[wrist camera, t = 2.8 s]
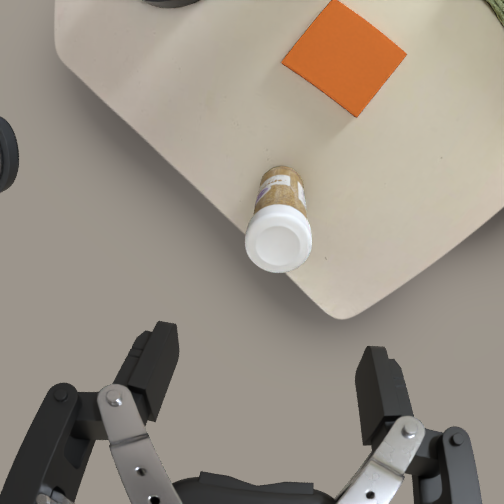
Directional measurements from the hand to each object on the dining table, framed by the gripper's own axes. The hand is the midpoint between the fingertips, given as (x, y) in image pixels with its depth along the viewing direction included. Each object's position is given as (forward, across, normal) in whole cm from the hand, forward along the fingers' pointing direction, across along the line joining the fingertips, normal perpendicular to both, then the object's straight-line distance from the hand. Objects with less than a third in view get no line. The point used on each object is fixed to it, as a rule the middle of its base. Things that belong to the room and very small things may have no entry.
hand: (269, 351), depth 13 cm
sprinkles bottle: (+23, 0, 0) cm, 23 cm away
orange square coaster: (+23, -5, -14) cm, 28 cm away
